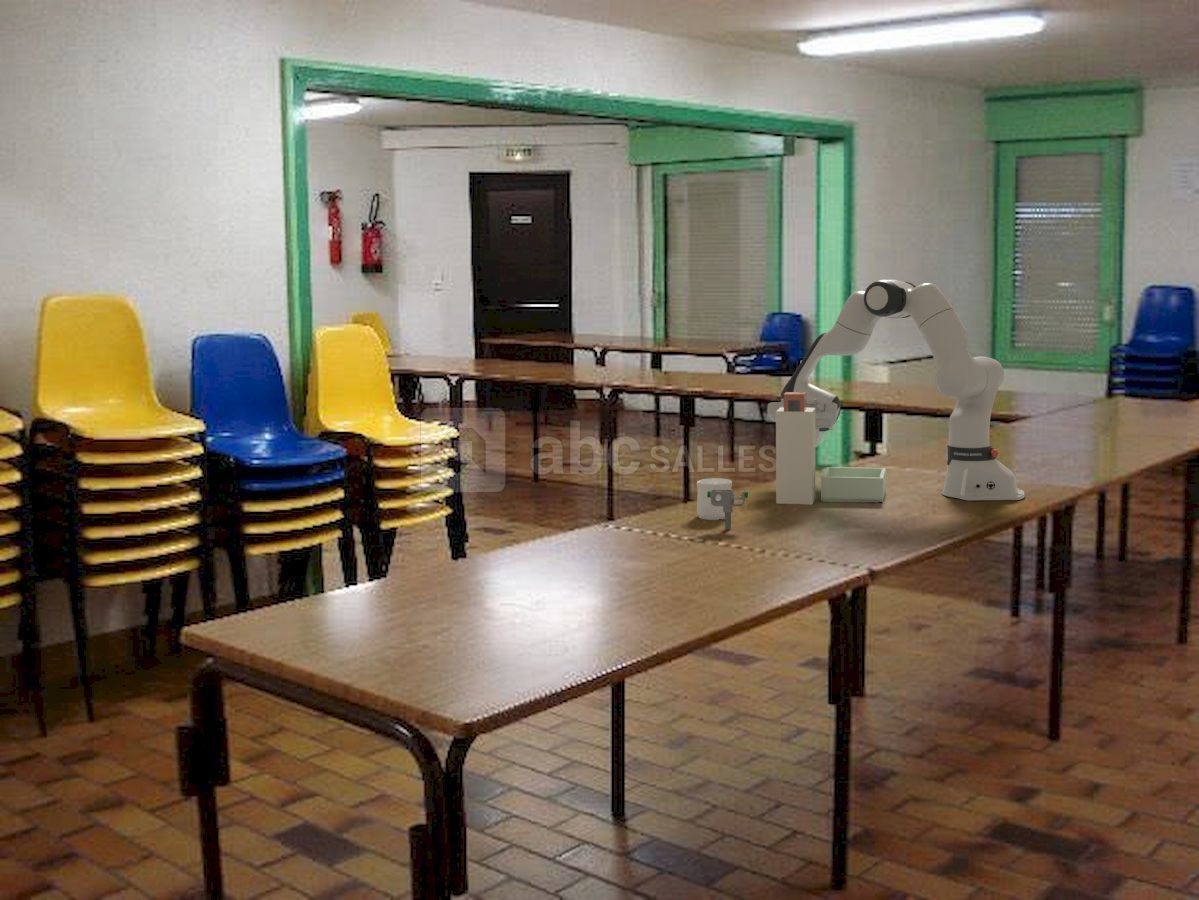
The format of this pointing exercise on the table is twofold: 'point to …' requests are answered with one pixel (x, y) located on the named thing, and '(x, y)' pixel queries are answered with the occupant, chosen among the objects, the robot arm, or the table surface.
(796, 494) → the cream block
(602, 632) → the table surface
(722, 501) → the mechanical component
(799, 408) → the grey long block
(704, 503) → the cup
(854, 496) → the green bin
